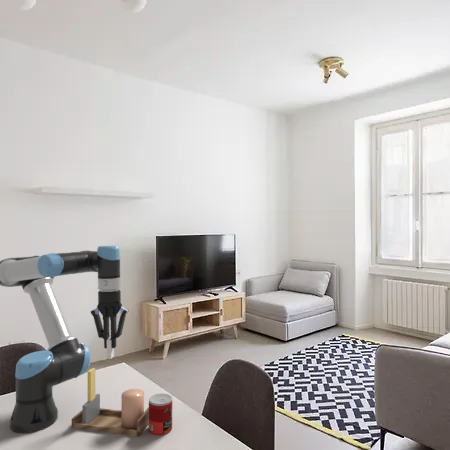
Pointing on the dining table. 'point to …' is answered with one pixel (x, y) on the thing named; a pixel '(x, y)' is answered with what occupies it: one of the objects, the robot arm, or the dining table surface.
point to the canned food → (160, 414)
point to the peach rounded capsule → (131, 408)
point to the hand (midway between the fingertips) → (110, 357)
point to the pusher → (91, 400)
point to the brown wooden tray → (111, 422)
